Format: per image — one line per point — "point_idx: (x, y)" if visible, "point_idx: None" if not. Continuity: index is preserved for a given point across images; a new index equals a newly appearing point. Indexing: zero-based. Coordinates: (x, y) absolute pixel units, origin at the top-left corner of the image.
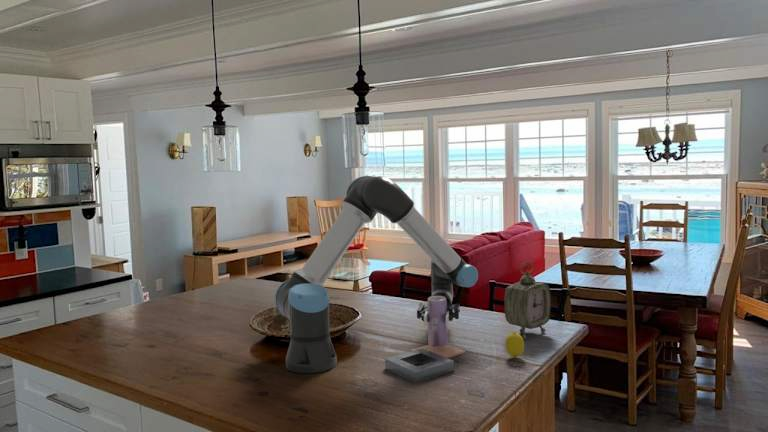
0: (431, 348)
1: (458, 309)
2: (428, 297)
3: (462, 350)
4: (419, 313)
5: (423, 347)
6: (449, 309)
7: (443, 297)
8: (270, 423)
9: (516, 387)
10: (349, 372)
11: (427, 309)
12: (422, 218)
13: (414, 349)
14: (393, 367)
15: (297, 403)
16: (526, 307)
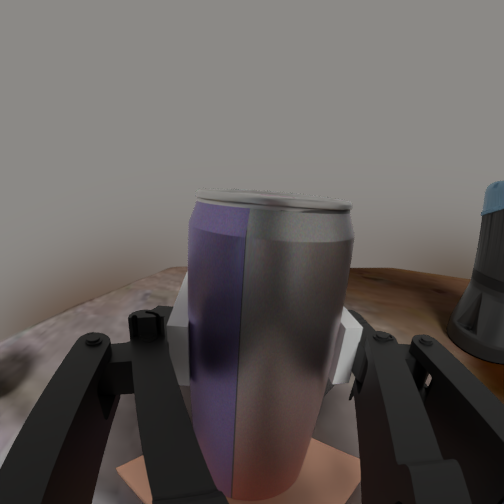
0: (284, 496)
1: (57, 369)
2: (346, 200)
3: (126, 475)
4: (406, 350)
5: (328, 499)
6: (160, 313)
7: (218, 199)
8: (375, 268)
9: (80, 305)
10: (410, 334)
11: (387, 371)
12: None
13: (357, 468)
14: None
15: (387, 283)
16: None
